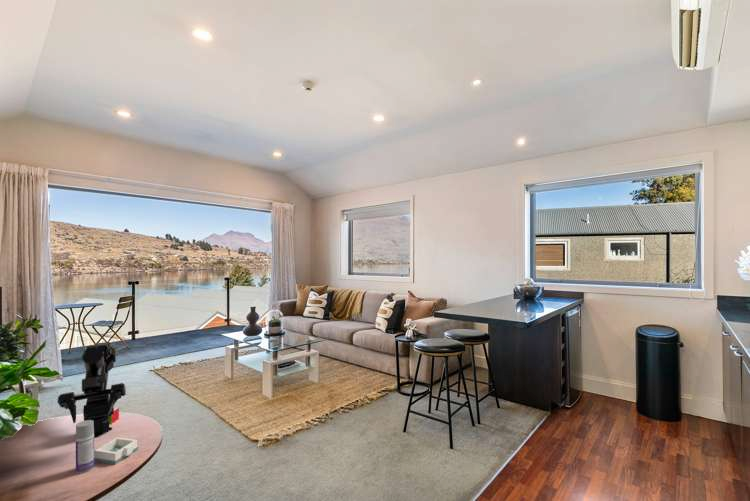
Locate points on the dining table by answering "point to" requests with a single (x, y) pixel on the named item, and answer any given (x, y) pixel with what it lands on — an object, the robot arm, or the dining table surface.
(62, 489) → the dining table surface
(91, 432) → the container
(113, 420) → the rubik's cube
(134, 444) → the board
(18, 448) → the dining table surface
